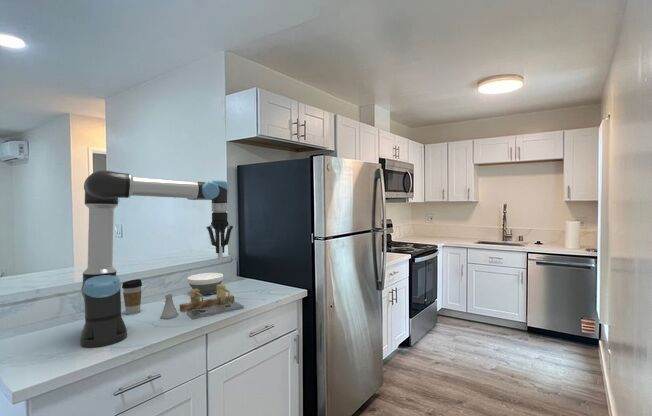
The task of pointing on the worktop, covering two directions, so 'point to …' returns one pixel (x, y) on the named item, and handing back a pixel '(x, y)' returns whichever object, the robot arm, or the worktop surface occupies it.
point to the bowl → (205, 282)
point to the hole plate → (214, 310)
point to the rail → (202, 301)
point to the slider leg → (222, 293)
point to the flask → (169, 308)
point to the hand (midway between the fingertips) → (220, 259)
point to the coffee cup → (132, 296)
